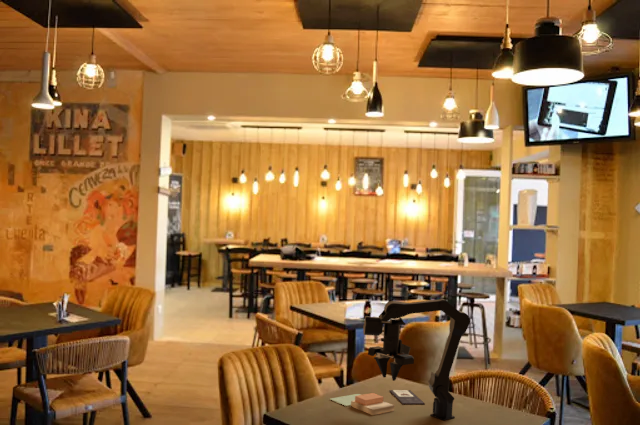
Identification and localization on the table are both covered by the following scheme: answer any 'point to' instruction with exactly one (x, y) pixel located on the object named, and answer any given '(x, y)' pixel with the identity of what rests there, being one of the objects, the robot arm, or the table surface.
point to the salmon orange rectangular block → (369, 399)
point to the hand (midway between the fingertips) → (389, 378)
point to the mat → (345, 399)
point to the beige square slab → (373, 407)
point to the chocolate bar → (407, 397)
